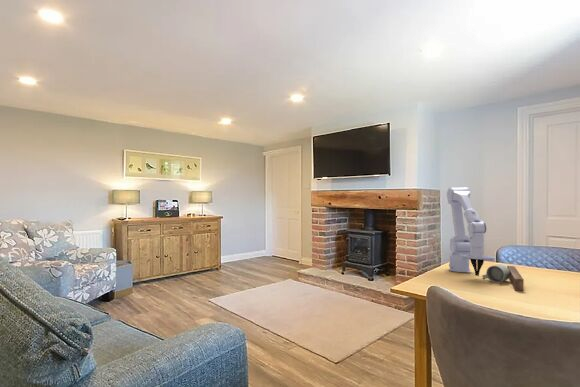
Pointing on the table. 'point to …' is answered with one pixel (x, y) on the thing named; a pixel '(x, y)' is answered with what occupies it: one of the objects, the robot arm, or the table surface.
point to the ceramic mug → (497, 273)
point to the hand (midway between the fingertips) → (477, 275)
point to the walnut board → (516, 279)
